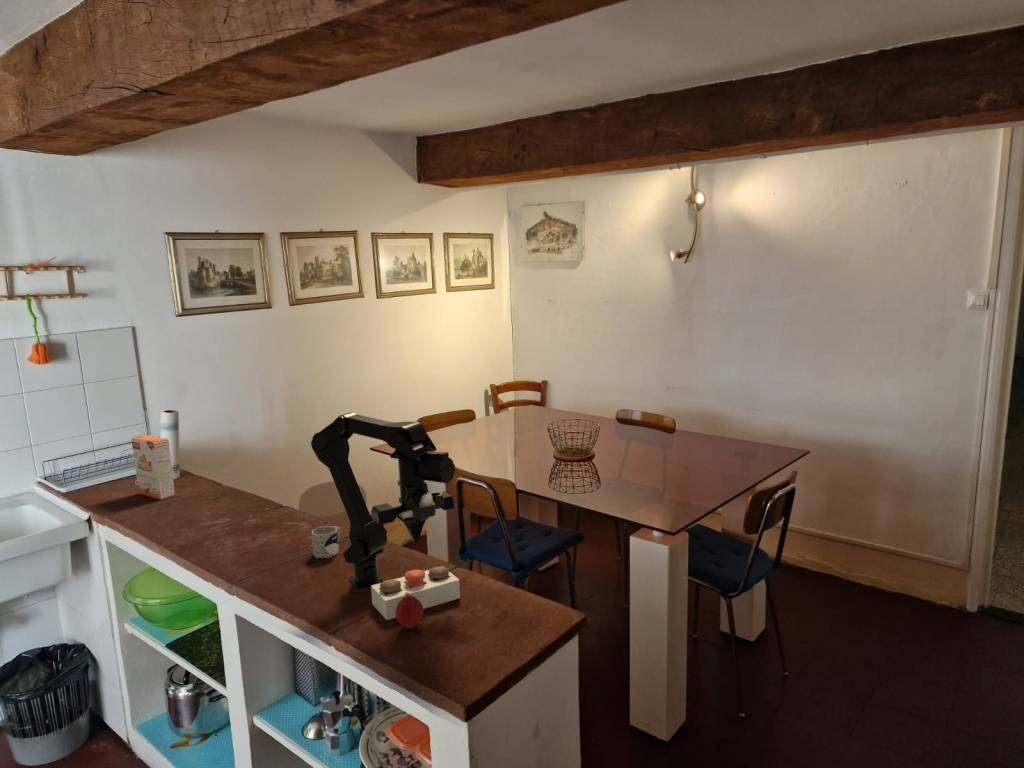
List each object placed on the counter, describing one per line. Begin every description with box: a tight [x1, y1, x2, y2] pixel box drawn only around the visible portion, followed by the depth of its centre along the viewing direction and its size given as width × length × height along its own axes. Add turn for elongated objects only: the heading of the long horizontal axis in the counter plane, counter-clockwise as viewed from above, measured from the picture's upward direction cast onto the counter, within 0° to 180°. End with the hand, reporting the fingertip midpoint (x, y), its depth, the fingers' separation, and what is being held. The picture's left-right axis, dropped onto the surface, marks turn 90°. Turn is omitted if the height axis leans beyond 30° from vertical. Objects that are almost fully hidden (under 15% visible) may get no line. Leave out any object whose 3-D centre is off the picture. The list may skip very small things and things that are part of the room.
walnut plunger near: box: [380, 579, 401, 596], centre depth 157 cm, size 5×5×6 cm
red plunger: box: [404, 569, 425, 588], centre depth 160 cm, size 5×5×6 cm
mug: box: [311, 525, 341, 560], centre depth 190 cm, size 10×7×7 cm, turn 161°
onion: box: [395, 593, 424, 630], centre depth 148 cm, size 6×6×8 cm
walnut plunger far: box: [428, 566, 450, 581], centre depth 163 cm, size 5×5×6 cm
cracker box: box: [130, 434, 176, 501], centre depth 245 cm, size 14×6×21 cm, turn 57°
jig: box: [370, 565, 461, 621], centre depth 160 cm, size 9×18×4 cm, turn 121°
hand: (415, 542), depth 162 cm, fingers closed
